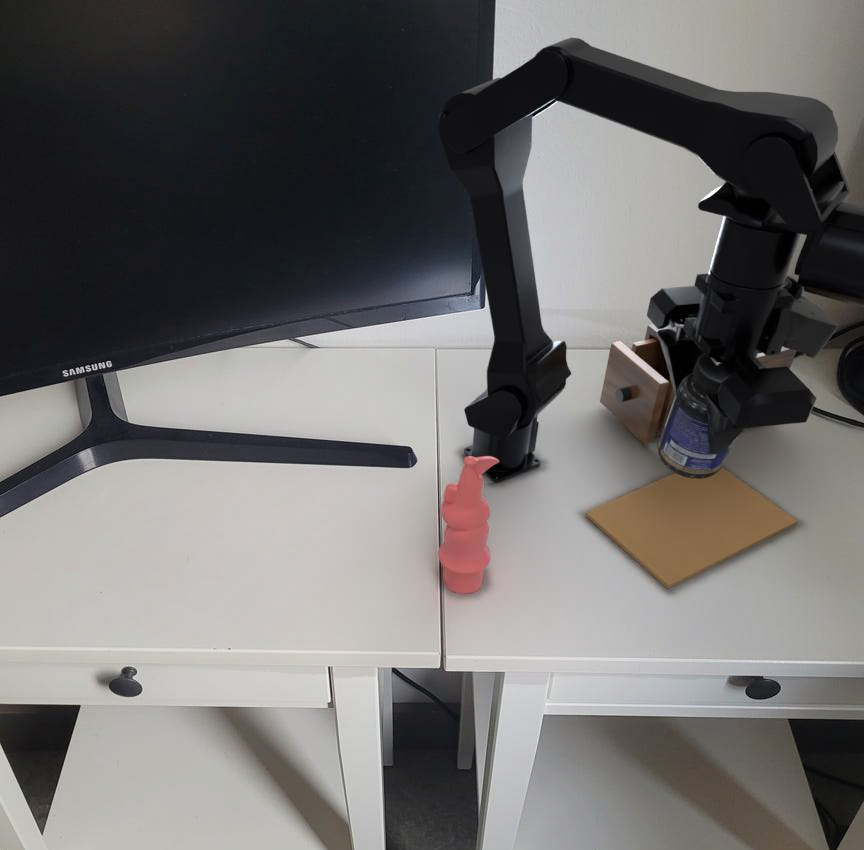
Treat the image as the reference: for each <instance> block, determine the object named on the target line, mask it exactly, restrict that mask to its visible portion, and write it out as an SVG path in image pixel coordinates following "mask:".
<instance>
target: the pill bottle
mask: <svg viewBox="0 0 864 850" xmlns="http://www.w3.org/2000/svg"><path fill="white" fill-rule="evenodd" d="M729 375H731V374H730V372H729V371H728V370H727V369H726V368H725V367H724V366H717V365H715V364H714V363H713V361H712V360H711V359H710V358H708V357H707V356H706V355H705V354H702V355H701V356H699V358H698V359H697V362H696V364H695V367H694V369H693V373H692V374H690V375H688V376H686V377H685V378H684V379H683V380H682V381H681V383H680V384H679V386H678V390H677V392H676V395H675V398H674V401H673V404H672V407H671V410H670V413H669V415H668V418H667V421H666V424H665V427H664V430H663V432H662V434H661V435H660V439H659V441H658V444H657V453H658V456H659V459H660V461H661V462H662V464H663V465H664V466H665V467H666V468H667V469H669V470H670V471H671V472H673V473H677V474H678V475H681V476H684V477H688V478H696V479H702V478H707V477H710V476H713V475H715V474H716V473H717V472H718V471H719V470H720V469H721V468H724V464H725V461H726V459H727V457H728V455H729V453H730V450H731V448H732V446H733V443H734V441H733V442H732V443H731V444H730V445H729V447H728V448H727V449H726V450H725V451H724V452H723V453H718V454H712V453H711V452H710V448H709V439H708V419H707V400H706V395H707V394H712V393H718V391H719V388H720V384H721V382H722V381H723V380H724V379H726V378H727V377H728V376H729Z"/></svg>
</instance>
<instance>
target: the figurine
mask: <svg viewBox="0 0 864 850" xmlns="http://www.w3.org/2000/svg"><path fill="white" fill-rule="evenodd" d="M462 462H463V467H462V470H461V473H460V475H459V479H458V482H457V483H453V482H451V483H448V484H447V485H446V486H445V489H444V493H443V500H442V502H441V503H440V504H441V505H440V515H441V518H442V520H443V521H444V523H445V524H446V525H445V528H444V534H443V541H442V543H441V544H440V546H439V548H438V550H437V556H438V560H439V562H440V564H441V565H442V582H443V584H444V586H445V587H446V588H447V589H448V590H449V591H451V592H453V593H456V594H459V595H460V594H461V595H468V594H472V593H475V592H476V591H478V590H479V589H481V587H482V585H483V582H484V574H485V569H486V568H487V567H488V565H490V562H491V551H490V548H489V547H488V545H487V542H488V537H489V533H490V526H489V522H488V521H489V518H490V515H491V508H490V505H489V503H488V501H487V500H486V498H485V497H484V496H483V490H484V485H485V483H484V477H483V476H482V475H483V474H485V473H484V472H485V471H486V470H488V469H489V468H490V467H492V466H493V465H495V464H497V463H499V460H498V459H496V458H494V457H491V456H482V457H477V458H475V457H473V456H465V457H464V458H463V461H462Z"/></svg>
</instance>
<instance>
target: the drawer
mask: <svg viewBox="0 0 864 850" xmlns="http://www.w3.org/2000/svg"><path fill="white" fill-rule="evenodd" d="M674 398H675V394H674V390H673V386H672V382H671V378H670V374H669V371H668V367H667V363H666V360H665V357H664V353H663V350H662V346H661V343H660V341H659V340H657V339H656V338H653V339H649V340H645V339H644V340H640V341H636V342H633V343H632V345H631V349H630V348H629V347H628V346H626V345H625V344H624V343H623V342H622V341H621V340H618V341H614V342H611V343H610V347H609V354H608V358H607V364H606V367H605V374H604V378H603V384H602V388H601V394H600V399H599V403H601V405H602V406H604V407H605V408H606V410H608V412H610V413H611V414H612V416H614V417H615V418H616V419H617V420H618V421H620V422H621V424H623V426H624V427H625V428H627V429H628V430H629V431H630V432H631V433H632V435H634V437H636V438H637V439H638V440H639V441H640V442H641V443H643V445H644V446H647V445H650V444H653V443H654V442H655V439H656V434H657V433H658V434H659V435H660V436H661V435H662V432H663V430H664V427H665V424H666V421H667V418H668V415H669V413H670V410H671V407H672V404H673V401H674Z"/></svg>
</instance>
